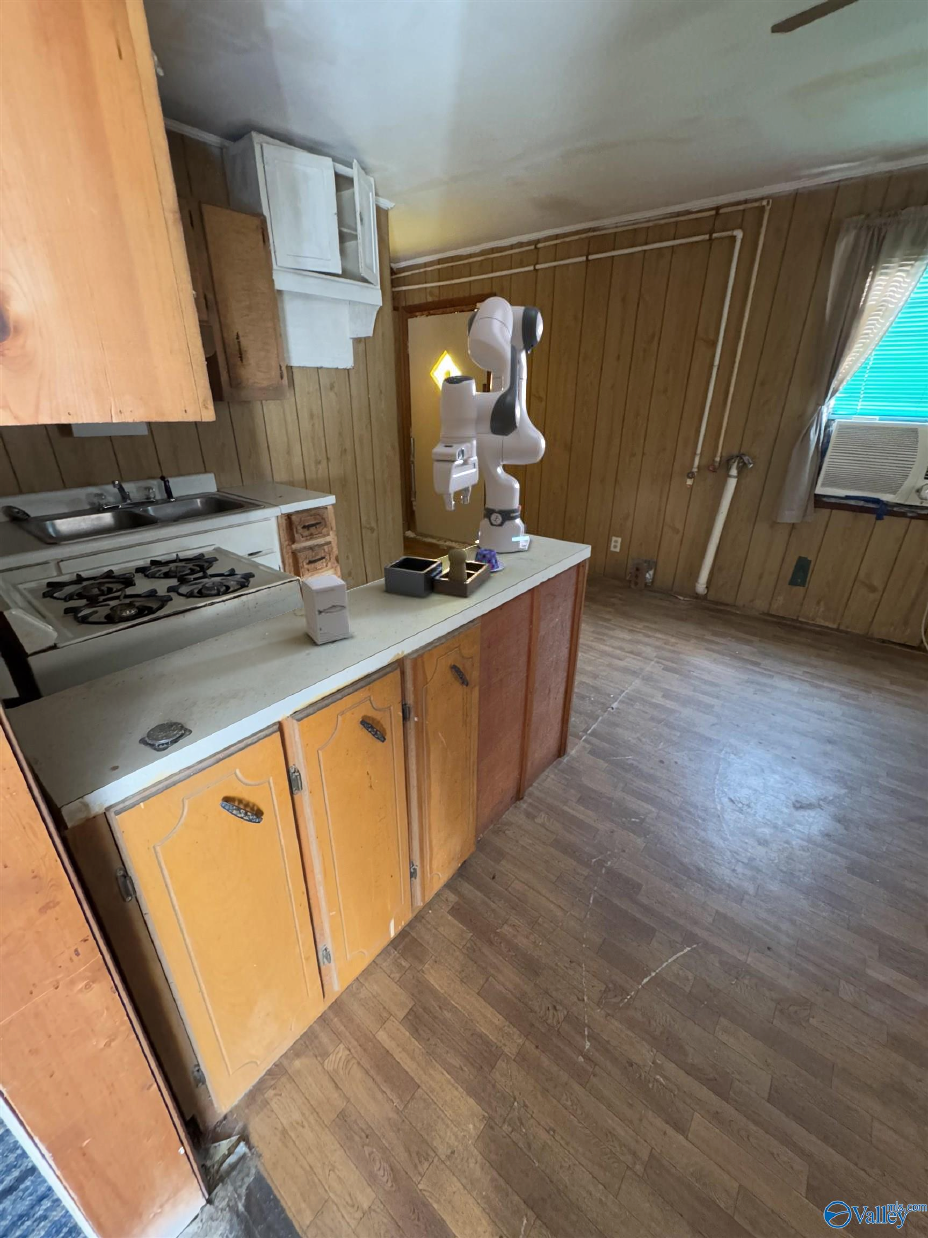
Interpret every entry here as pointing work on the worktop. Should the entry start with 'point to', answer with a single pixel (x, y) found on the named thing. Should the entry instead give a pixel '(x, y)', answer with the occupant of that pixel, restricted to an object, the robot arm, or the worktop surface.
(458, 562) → the cork
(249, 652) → the worktop surface
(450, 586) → the divided tray
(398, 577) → the grey open box
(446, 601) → the worktop surface
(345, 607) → the white packaging box
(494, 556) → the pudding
